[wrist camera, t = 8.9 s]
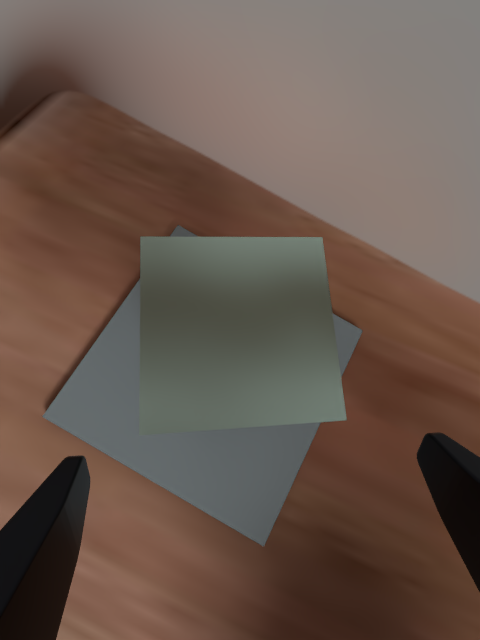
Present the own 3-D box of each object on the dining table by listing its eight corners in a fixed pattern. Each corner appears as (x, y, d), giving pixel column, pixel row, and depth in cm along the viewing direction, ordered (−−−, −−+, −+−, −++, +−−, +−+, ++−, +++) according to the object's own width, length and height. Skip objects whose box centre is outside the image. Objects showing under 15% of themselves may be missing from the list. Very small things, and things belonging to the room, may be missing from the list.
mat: (261, 542, 20) (263, 546, 19) (46, 416, 20) (42, 416, 20) (358, 332, 24) (362, 330, 23) (178, 229, 24) (178, 224, 24)
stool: (269, 418, 21) (346, 420, 11) (166, 425, 20) (139, 435, 10) (261, 320, 23) (322, 237, 12) (165, 322, 22) (140, 236, 11)
